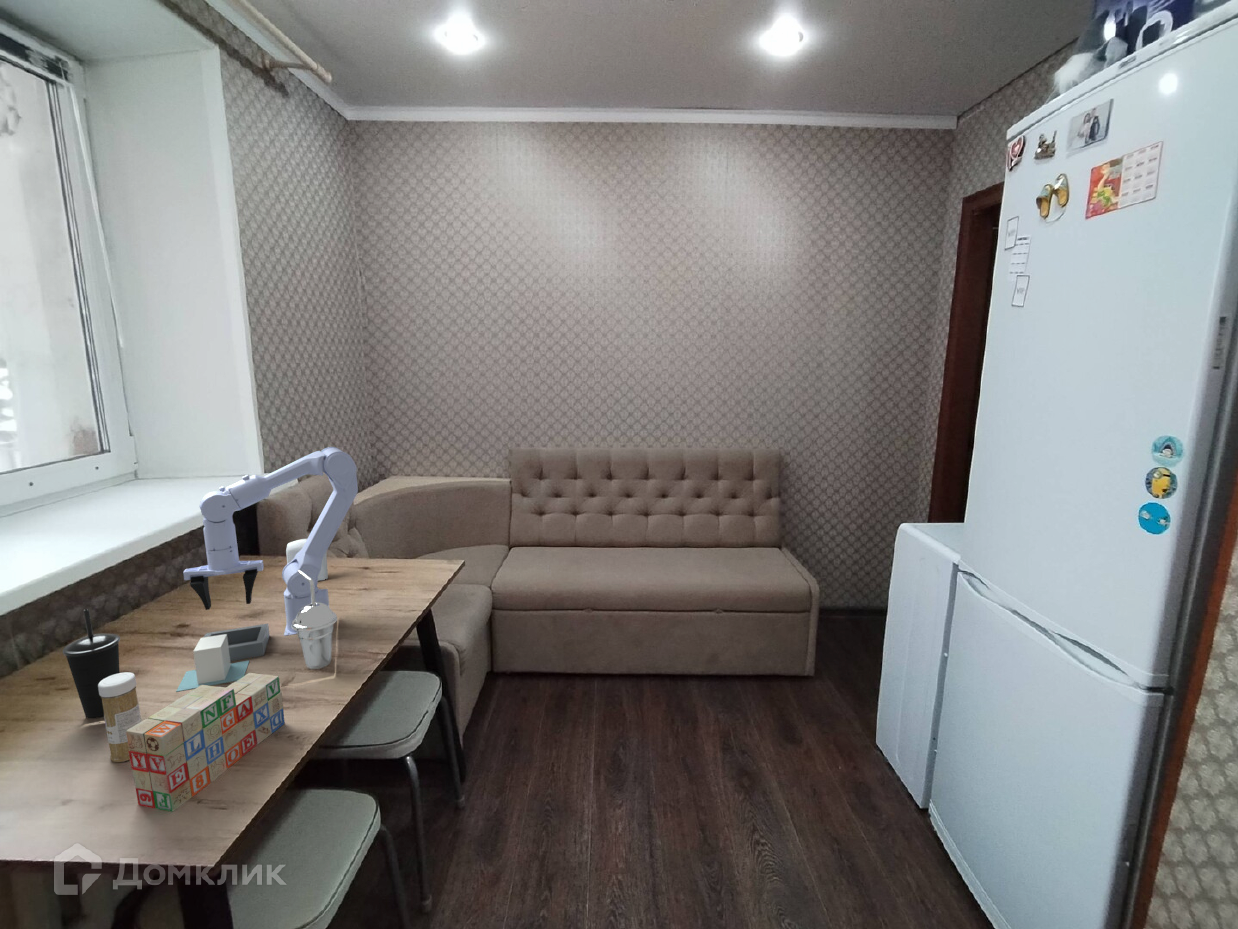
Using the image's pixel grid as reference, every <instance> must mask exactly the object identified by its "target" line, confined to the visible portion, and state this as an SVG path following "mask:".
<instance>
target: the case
mask: <svg viewBox="0 0 1238 929" xmlns="http://www.w3.org/2000/svg"><path fill="white" fill-rule="evenodd" d="M269 627H270V626H269V623H261V624H256V625H250V626H249V625H248V626H244V627H243V626H242V627H238V628H231V629H224V630H218V631H211V632H205V634H204V636H203V638H204V637H211V636H217V635H224V634H227V639H228V647H229V655H230V662H235V661H239V660H246V659H250V658H252V659H253V658H258V657H262V656H265V654H266V653H265V652H266V649H267V647H268V642H269V641H270V640H269V639H270V629H269Z"/></svg>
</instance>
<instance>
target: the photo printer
mask: <svg viewBox="0 0 1238 929" xmlns="http://www.w3.org/2000/svg"><path fill="white" fill-rule="evenodd" d="M307 539H308V538H301V539H297V540H294V541H290V542H288V543H287V545H286V550H285V553H286V565H287V564H288V563H290V562H291V561H292V560H293V559H294V557H295V555H296V554H297V553H298V552H299V551H300V550H301V549H302V548H303V546H304V544H305V542H306V540H307ZM327 559H328V558H327V552H326V553H325V555H324V557H323V559H322V565H321V570H320V572H319V575H318V582H319V581H326V580H328V579H329V572H328V571H329V570H328V561H327ZM325 579H326V580H325Z"/></svg>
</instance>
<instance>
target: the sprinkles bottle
mask: <svg viewBox="0 0 1238 929" xmlns="http://www.w3.org/2000/svg"><path fill="white" fill-rule="evenodd" d="M98 690H99V695H100V696H101V698H102V703H103V710H104V717H103V718H104V722H105V723H104V725H105V731H106V736H107V743H108V745H109V752H110V754H109V755H110V756H109V759H110V761H112V762H114V763H122V762H123V763H124V762H126V761H130V757H129V750H130V749H129V745H128V739H127V734H126V731H127V730H128V729H130V728H132V727H133V726H135V725H137V724H138V723H140V722H142V719H141V718H142V717H141V712H140V704H139V700H138V696H137V680H136V674H134V672H130V671H129V672H120V673H118V674H114V675H111V676H109V677H107V678H105V679H103V680H102V681H100V682H99V684H98Z"/></svg>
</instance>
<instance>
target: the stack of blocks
mask: <svg viewBox="0 0 1238 929" xmlns="http://www.w3.org/2000/svg"><path fill="white" fill-rule="evenodd" d="M284 713H285V712H284V703H283V695H282V692H281V682H280V677H279V675H272V674H261V673H254V672H253V673H252V672H248V673H247V674H245V675H244V677H242V678H241V679H239V680H237V681H233V682H232V683H230V684H229V685H227V687H224V686H215V685H211V686H208V685H201V686H199V687H197V688H195V689H191V690H190V691H189V692H188V693H186V694H185V695H183V696H181V697H179V698H178V699H176V700H175V701H173V702H171V703H170V704H169V705H167V706H165V707H163V708H162V709H160V710H158V711H157V712H155V713H153V714H152V715H150V716H149V717H148V718H146V719H143V720H141V722H140V723H138V724H137V725H135V726H133V727H132V728H130V729H128V730H127V731H126V734H127V739H128V745H129V749H130V750H129V757H130V760H129V762H130V766H131V769H132V770H131V771H132V775H133V776H132V777H133V780H134V785H135V794H136V798H137V805H138V806H141V807H145V808H151V809H155V810H156V809H157V810H161V811H162V810H163V811H167V812H171V813H173V812H175V810H177V809H179V808H180V807H181V806H182V805H183V804H185V803H186V802H187V801H189V800H190V799H191V798H193V797H195V795H197V794H198V793H200V792H201V791H202V790H203V789H204V788H206V787H207V786H208V785H210V784H211V783H212V782H214V781H215V780H216V779H218V777H219V776H221V775H222V774H223V773H226V771H227V770H228V769H229V768H231V767H232V766H233V765H234V764H235V763H237V762H238V761H240V759H242V757H244V756H246V754H248V753H249V752H251V750H253V748H255V747H257V745H260V744H261V743H262V742H264V740H266V739H267V738H268V737H270V736H271V735H272V734H274V733H275V731H277V730H278V729H279V728H280V727H282V726H283V725H284V724H285V714H284Z"/></svg>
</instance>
